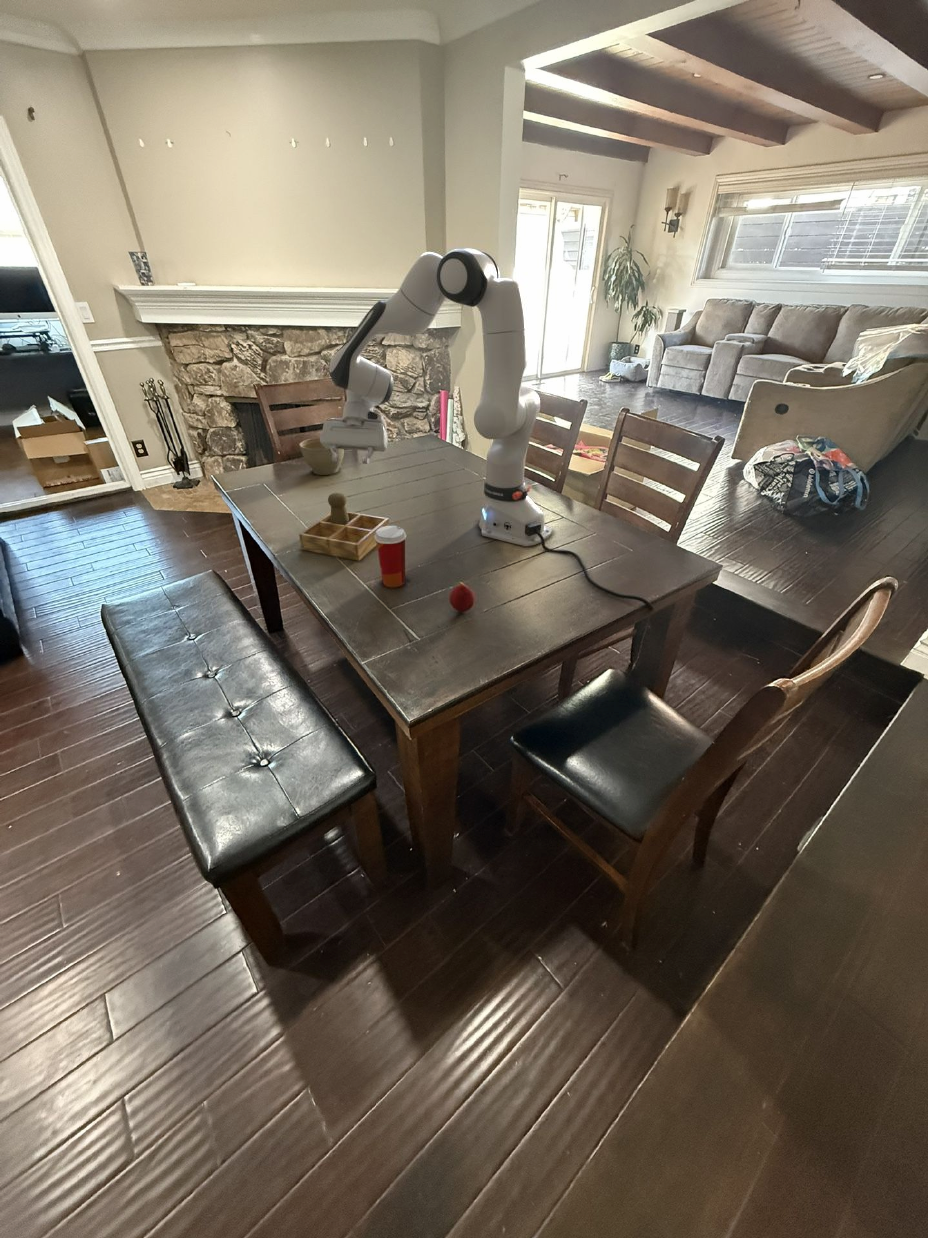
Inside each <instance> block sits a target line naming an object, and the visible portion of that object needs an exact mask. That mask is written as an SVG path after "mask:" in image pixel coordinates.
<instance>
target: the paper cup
mask: <svg viewBox="0 0 928 1238" xmlns="http://www.w3.org/2000/svg"><path fill="white" fill-rule="evenodd" d="M374 539H375V540H376V543H377V545H376V548H377V549H376V550H377V555H378V561H379V568H380V573H381V578H382V583H383V585H384V586H385V587H387V588H398V587H401V586H403V585H404V584H405V582H406V539H407V534H406V532H405V530H404V528H402V527H399V526H397V525H389V526H385V527H381V528H379V529H378V530H377V531H376V534H375V536H374Z"/></svg>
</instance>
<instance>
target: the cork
mask: <svg viewBox="0 0 928 1238" xmlns="http://www.w3.org/2000/svg"><path fill="white" fill-rule="evenodd" d="M327 502H328V505H329V506H330V512H331V523H334V524H340V525H346V524H347V523H348V522H350V520H349V517H348V513H347V512H348V510H347V507H346V504H347V496H346V495H345V494H344V493H342V492H332V493H331V494H329V495H328V497H327Z"/></svg>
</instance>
